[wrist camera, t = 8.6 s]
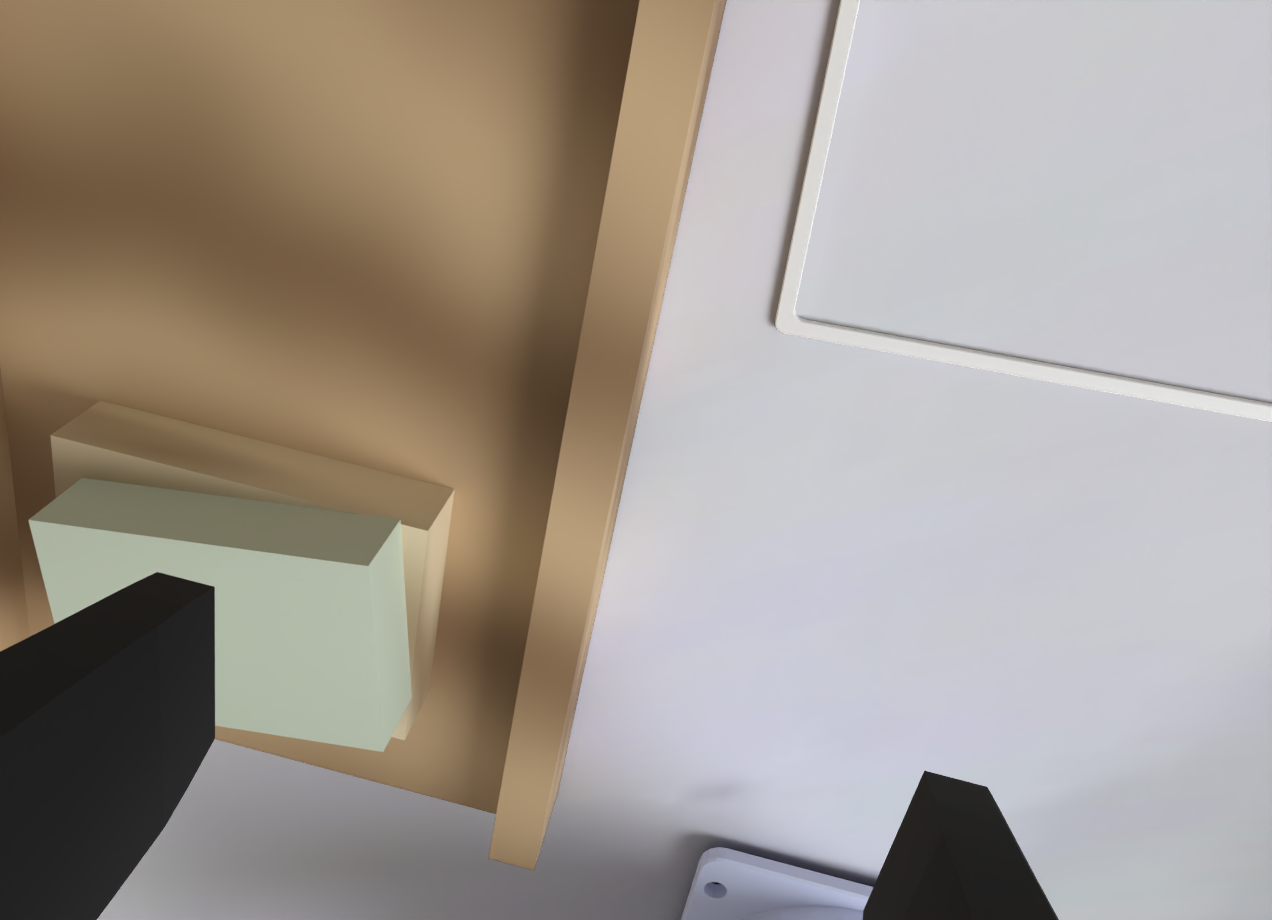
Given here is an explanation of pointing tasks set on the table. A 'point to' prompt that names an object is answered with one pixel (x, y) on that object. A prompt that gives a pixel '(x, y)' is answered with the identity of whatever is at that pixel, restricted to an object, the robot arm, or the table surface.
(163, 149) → the tray
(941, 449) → the table surface
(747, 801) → the table surface
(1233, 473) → the table surface
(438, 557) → the offcut
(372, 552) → the offcut
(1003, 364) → the white rimmed panel
